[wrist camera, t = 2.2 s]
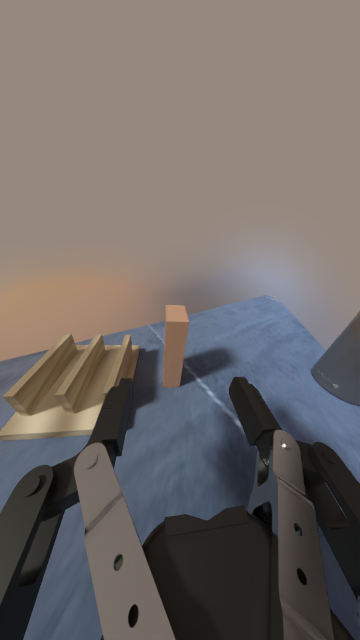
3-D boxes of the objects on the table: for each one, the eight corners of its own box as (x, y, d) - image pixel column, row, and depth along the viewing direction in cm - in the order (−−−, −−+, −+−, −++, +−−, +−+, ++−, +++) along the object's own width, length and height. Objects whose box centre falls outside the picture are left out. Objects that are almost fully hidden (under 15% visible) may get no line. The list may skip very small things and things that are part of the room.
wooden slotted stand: (139, 350, 33) (138, 329, 30) (122, 432, 19) (115, 409, 16) (74, 350, 31) (65, 327, 28) (3, 440, 17) (-29, 416, 14)
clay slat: (177, 365, 30) (184, 305, 23) (179, 386, 26) (189, 321, 19) (163, 365, 30) (165, 304, 23) (163, 387, 25) (166, 321, 18)
